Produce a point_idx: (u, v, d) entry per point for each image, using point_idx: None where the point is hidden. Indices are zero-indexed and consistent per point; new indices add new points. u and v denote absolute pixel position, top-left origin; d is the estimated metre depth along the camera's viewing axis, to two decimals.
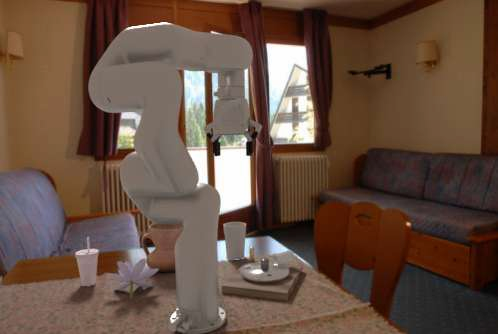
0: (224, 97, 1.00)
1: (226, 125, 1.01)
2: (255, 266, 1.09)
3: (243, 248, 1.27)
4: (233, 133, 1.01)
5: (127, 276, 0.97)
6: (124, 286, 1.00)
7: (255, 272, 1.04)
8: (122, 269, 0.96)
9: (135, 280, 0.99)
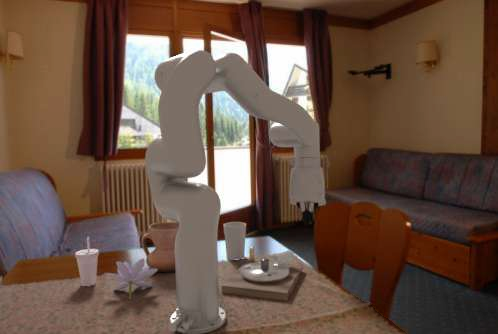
0: (302, 167, 1.06)
1: (303, 193, 1.07)
2: (255, 266, 1.09)
3: (243, 248, 1.27)
4: (310, 201, 1.07)
5: (126, 276, 0.97)
6: (123, 286, 1.00)
7: (255, 272, 1.04)
8: (121, 269, 0.96)
9: (134, 280, 0.99)
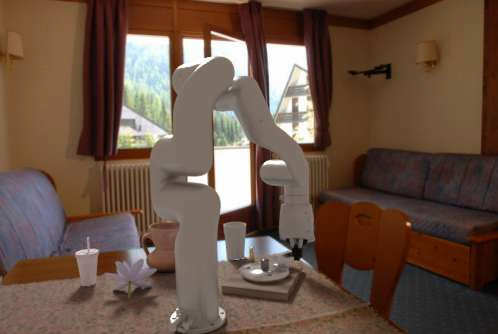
0: (291, 205, 1.08)
1: (292, 230, 1.09)
2: (254, 266, 1.09)
3: (243, 248, 1.27)
4: (299, 237, 1.09)
5: (125, 276, 0.97)
6: (122, 286, 1.00)
7: (255, 272, 1.04)
8: (120, 269, 0.96)
9: (133, 280, 0.99)
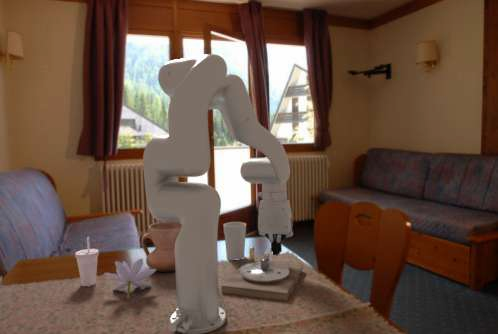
0: (269, 202, 1.10)
1: (271, 225, 1.12)
2: (251, 269, 1.07)
3: (243, 248, 1.27)
4: (277, 233, 1.12)
5: (124, 276, 0.97)
6: (122, 286, 1.00)
7: (263, 273, 1.03)
8: (119, 269, 0.96)
9: (133, 280, 0.99)
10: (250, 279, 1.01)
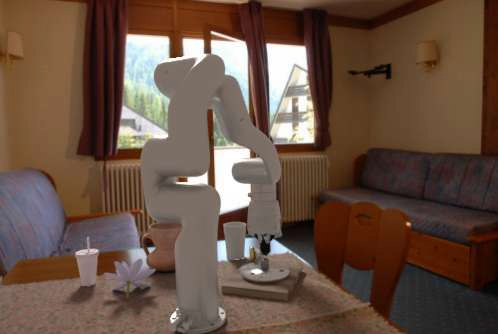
0: (258, 202, 1.11)
1: (260, 226, 1.13)
2: (251, 270, 1.06)
3: (243, 248, 1.27)
4: (266, 233, 1.12)
5: (124, 276, 0.97)
6: (121, 286, 1.00)
7: (268, 273, 1.03)
8: (119, 269, 0.96)
9: (132, 280, 0.99)
10: (259, 280, 1.00)
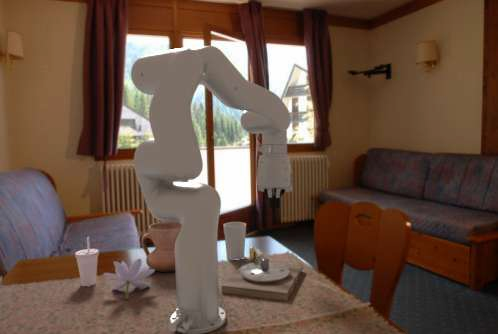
0: (269, 154, 1.09)
1: (270, 179, 1.10)
2: (251, 270, 1.06)
3: (243, 248, 1.27)
4: (276, 187, 1.10)
5: (123, 276, 0.97)
6: (121, 286, 1.00)
7: (268, 273, 1.03)
8: (118, 269, 0.96)
9: (131, 280, 0.99)
10: (259, 280, 1.00)
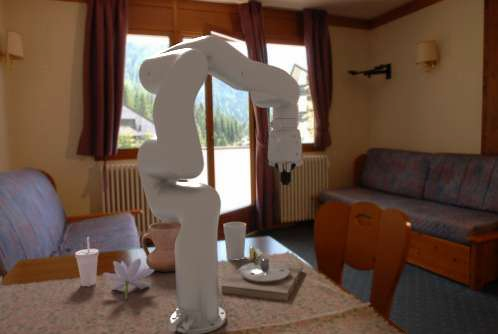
0: (280, 128, 1.10)
1: (281, 153, 1.11)
2: (251, 270, 1.06)
3: (243, 248, 1.27)
4: (287, 161, 1.11)
5: (122, 276, 0.97)
6: (120, 286, 1.00)
7: (268, 273, 1.03)
8: (117, 269, 0.96)
9: (131, 280, 0.99)
10: (259, 280, 1.00)
